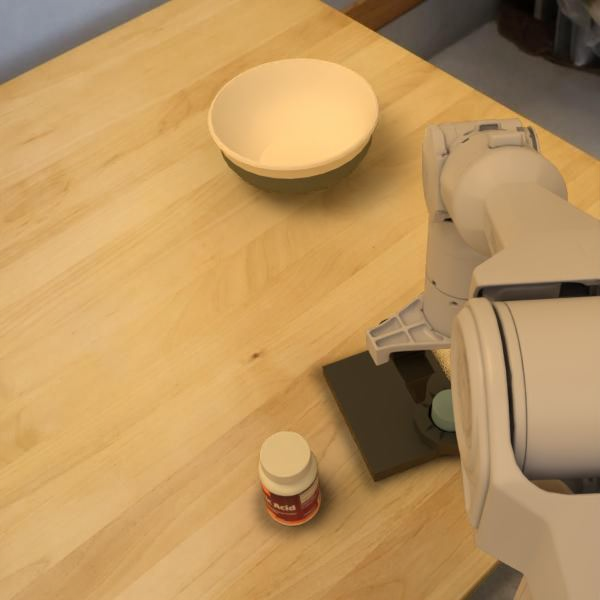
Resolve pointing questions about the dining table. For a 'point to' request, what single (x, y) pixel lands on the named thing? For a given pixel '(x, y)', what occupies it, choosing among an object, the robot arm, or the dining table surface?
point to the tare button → (443, 411)
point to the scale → (389, 414)
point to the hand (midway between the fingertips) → (454, 378)
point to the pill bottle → (289, 478)
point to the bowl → (294, 124)
